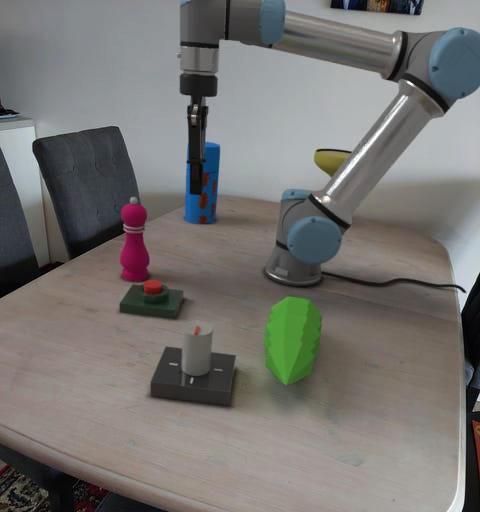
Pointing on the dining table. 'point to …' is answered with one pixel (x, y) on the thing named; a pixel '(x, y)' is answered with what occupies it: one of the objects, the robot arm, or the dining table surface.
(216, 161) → the thermos
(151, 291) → the button
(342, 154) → the cocktail glass
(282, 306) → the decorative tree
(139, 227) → the pepper mill
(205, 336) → the knob
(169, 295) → the button box
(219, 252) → the dining table surface
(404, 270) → the dining table surface
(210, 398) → the panel
